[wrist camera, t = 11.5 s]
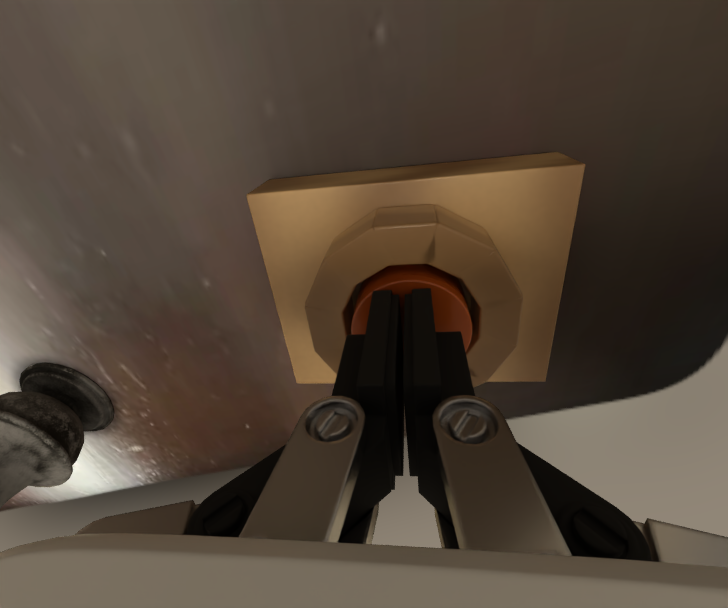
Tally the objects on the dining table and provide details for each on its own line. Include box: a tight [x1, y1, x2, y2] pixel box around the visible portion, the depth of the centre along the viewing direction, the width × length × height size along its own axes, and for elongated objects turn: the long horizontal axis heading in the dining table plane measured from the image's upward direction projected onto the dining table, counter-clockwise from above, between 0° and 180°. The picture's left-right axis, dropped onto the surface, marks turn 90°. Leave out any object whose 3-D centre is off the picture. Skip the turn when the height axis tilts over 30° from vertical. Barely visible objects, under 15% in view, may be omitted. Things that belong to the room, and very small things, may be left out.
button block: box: [247, 152, 585, 387], centre depth 13 cm, size 10×8×4 cm
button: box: [351, 264, 472, 355], centre depth 12 cm, size 4×4×2 cm
